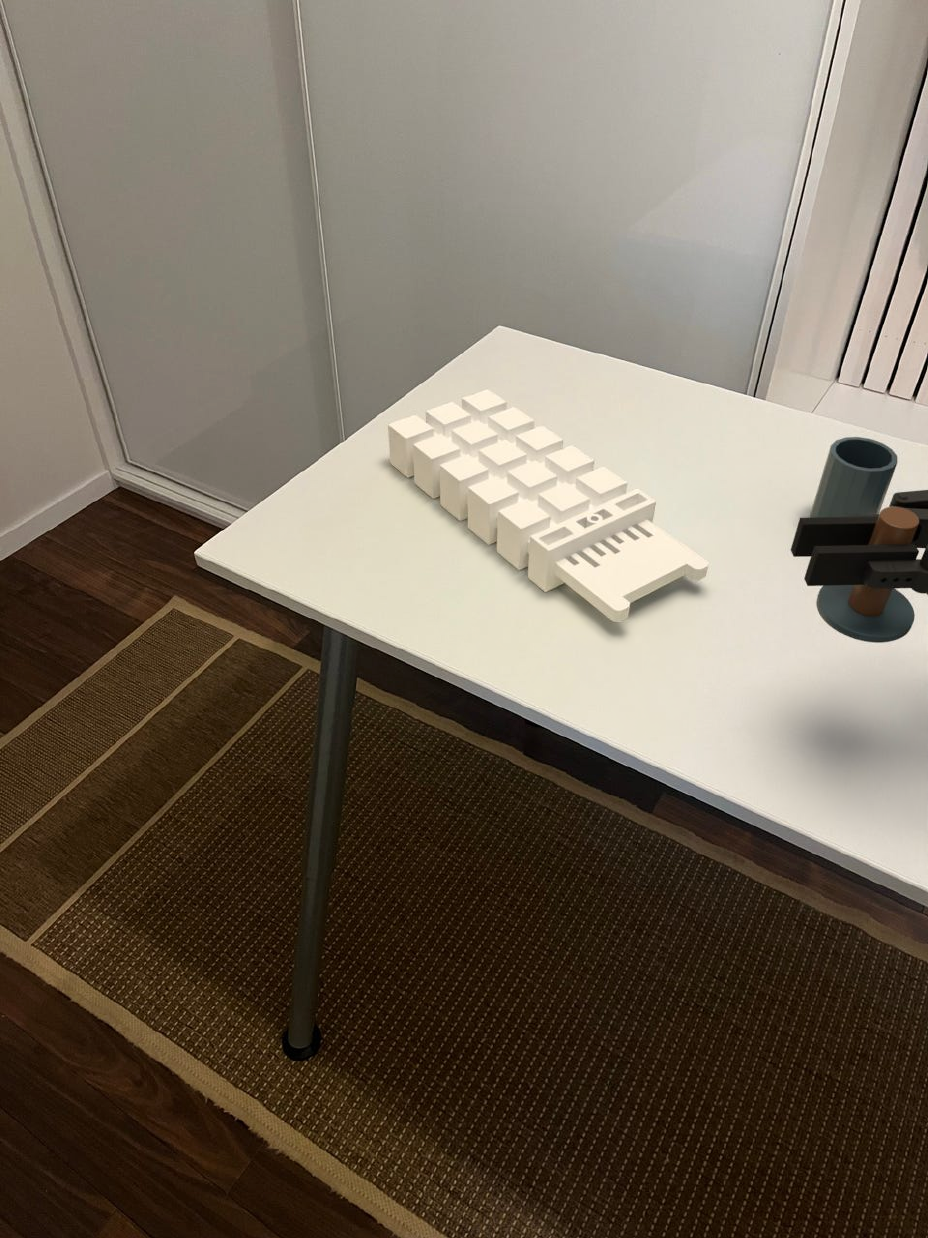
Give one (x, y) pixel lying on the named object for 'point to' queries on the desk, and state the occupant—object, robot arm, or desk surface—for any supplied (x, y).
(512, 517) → the organizer
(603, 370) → the desk surface
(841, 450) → the tin
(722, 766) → the desk surface
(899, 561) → the robot arm
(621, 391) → the desk surface
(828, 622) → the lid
